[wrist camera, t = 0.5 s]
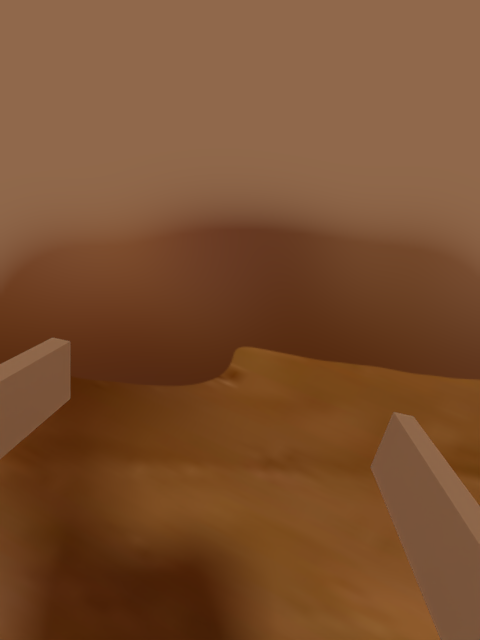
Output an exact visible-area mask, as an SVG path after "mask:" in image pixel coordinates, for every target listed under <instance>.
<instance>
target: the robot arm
mask: <svg viewBox="0 0 480 640" xmlns="http://www.w3.org/2000/svg"><path fill="white" fill-rule="evenodd" d="M70 345H71V344H70V341H67V340H62V339H58V338H50V339H48V340H46V341H45V342H43V343H41V344H39V345H37V346H35V347H33V348H31V349H29V350H27V351H25V352H23V353H21V354H19V355H17V356H15V357H13V358H11V359H9V360H7V361H5V362H3V363H1V364H0V459H1V458H2V457H3V456H4V455H6V454H7V453H8V452H9V451H10V450H11V449H13V448H14V447H15V446H16V445H17V444H18V443H20V442H21V441H22V440H23V439H24V438H25V437H27V436H28V435H29V434H30V433H31V432H32V431H34V430H35V429H36V428H37V427H38V426H39V425H41V424H42V423H43V422H44V421H45V420H46V419H48V418H49V417H50V416H51V415H52V414H53V413H55V412H56V411H57V410H58V409H59V408H60V407H61V406H63V405H64V404H65V403H66V402H67V401H68V400H70V362H71V357H70V355H71V353H70V352H71V350H70V347H71V346H70ZM371 469H372V472H373V474H374V477H375V479H376V481H377V484H378V486H379V489H380V491H381V494H382V496H383V499H384V501H385V504H386V506H387V509H388V511H389V513H390V516H391V518H392V521H393V523H394V526H395V528H396V531H397V533H398V536H399V538H400V541H401V543H402V546H403V548H404V550H405V553H406V555H407V558H408V560H409V563H410V565H411V568H412V570H413V573H414V575H415V578H416V580H417V582H418V585H419V587H420V590H421V592H422V595H423V597H424V600H425V602H426V605H427V607H428V610H429V612H430V614H431V617H432V619H433V622H434V624H435V627H436V629H437V632H438V634H439V637H440V639H441V640H480V506H479V505H478V503H477V502H476V501H475V499H474V498H473V497H472V495H471V494H470V493H469V491H468V490H467V488H466V487H465V486H464V484H463V483H462V482H461V480H460V479H459V478H458V476H457V475H456V474H455V472H454V471H453V469H452V468H451V467H450V465H449V464H448V463H447V461H446V460H445V459H444V457H443V456H442V455H441V453H440V452H439V450H438V449H437V448H436V446H435V445H434V444H433V442H432V441H431V440H430V438H429V437H428V436H427V434H426V433H425V431H424V430H423V429H422V427H421V426H420V425H419V423H418V422H417V421H416V419H415V418H414V417H413V416H409V415H405V414H400V413H396V412H393V415H392V417H391V419H390V422H389V424H388V427H387V429H386V431H385V434H384V436H383V438H382V441H381V443H380V446H379V448H378V450H377V453H376V455H375V458H374V460H373V462H372V465H371Z"/></svg>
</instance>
